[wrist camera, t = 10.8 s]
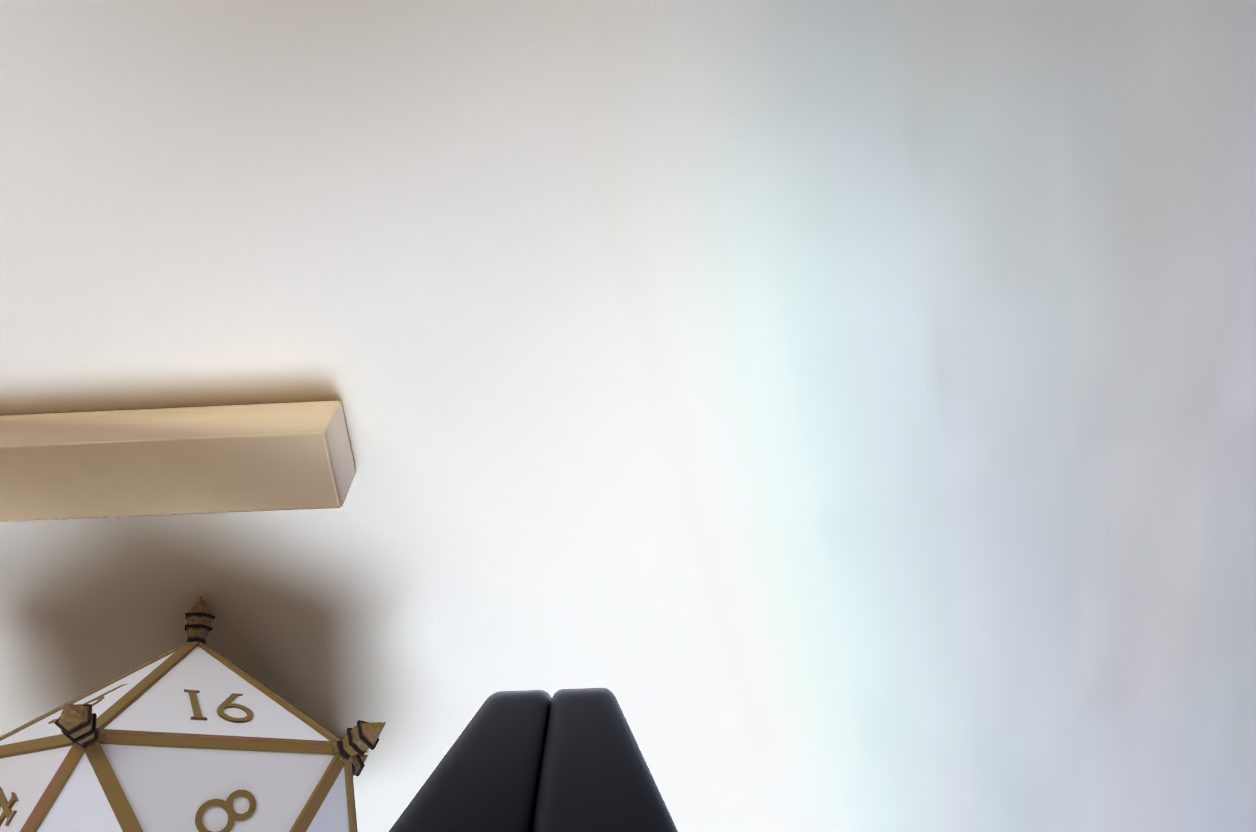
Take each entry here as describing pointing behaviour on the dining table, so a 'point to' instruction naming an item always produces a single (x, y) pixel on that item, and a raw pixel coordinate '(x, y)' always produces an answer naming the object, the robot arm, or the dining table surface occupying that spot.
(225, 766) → the game die
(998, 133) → the dining table surface
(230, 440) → the strips
